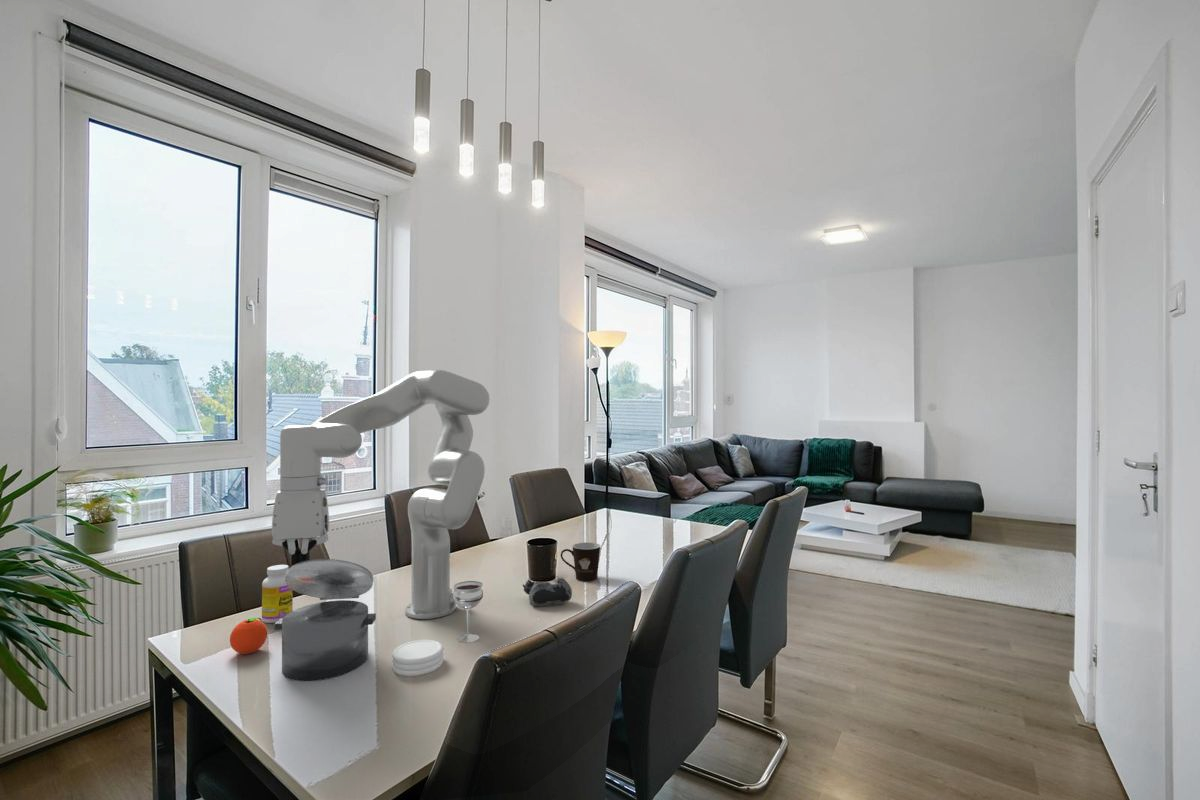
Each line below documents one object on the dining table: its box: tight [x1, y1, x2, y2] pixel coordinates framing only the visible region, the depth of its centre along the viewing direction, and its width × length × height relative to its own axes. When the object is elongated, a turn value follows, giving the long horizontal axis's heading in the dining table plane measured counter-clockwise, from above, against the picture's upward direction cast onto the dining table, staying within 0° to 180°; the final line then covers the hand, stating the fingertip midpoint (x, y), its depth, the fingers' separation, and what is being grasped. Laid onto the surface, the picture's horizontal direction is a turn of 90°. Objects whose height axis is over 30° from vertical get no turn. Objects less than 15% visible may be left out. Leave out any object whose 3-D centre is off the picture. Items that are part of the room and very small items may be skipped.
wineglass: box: [452, 580, 484, 644], centre depth 129 cm, size 7×7×12 cm
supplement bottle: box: [261, 564, 294, 624], centre depth 140 cm, size 7×7×13 cm
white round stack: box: [391, 639, 444, 677], centre depth 115 cm, size 10×10×4 cm
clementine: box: [229, 617, 268, 655], centre depth 122 cm, size 8×7×7 cm
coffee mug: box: [560, 541, 601, 583], centre depth 174 cm, size 12×9×10 cm
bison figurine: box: [522, 577, 573, 608], centre depth 152 cm, size 12×7×10 cm
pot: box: [274, 599, 377, 682], centre depth 117 cm, size 19×16×10 cm
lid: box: [285, 558, 374, 601], centre depth 120 cm, size 18×17×2 cm
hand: (300, 571), depth 118 cm, fingers closed
